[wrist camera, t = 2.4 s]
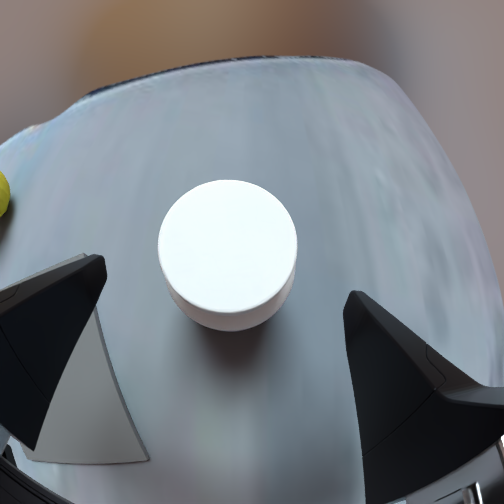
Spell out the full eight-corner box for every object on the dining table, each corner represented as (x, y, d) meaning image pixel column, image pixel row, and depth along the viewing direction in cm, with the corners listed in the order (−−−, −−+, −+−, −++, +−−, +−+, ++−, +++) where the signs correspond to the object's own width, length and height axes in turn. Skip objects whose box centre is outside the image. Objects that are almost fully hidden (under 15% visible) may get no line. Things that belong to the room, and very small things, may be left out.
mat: (149, 457, 14) (147, 460, 13) (30, 457, 12) (27, 459, 11) (87, 255, 18) (83, 252, 18) (-12, 298, 16) (-16, 297, 16)
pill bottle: (173, 302, 18) (110, 265, 8) (218, 234, 19) (205, 143, 10) (246, 348, 17) (258, 364, 8) (289, 276, 19) (340, 215, 9)
